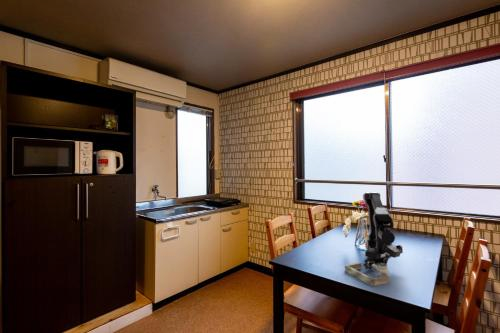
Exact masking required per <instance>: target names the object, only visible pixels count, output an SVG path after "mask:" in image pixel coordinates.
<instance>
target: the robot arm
mask: <svg viewBox="0 0 500 333" xmlns="http://www.w3.org/2000/svg"><path fill="white" fill-rule="evenodd" d="M362 199H363V201H364V205H365V206H366V207H367V212H368V223H369V234H368V235H367V238H366V242H365V249H366V250H365V252H364V253H365V254H364V255H365V257H366V258H365V260H367V257H369V259H370V258H372V260H373V261H375V263H374V264H379V263H385V264H387V263H388V262H389V259H391V258H395V259H396V258H399V257H400V255H401V254H403V253H404V252H403V246H402V245H400V244H397V245H396V244H393V243H394V242H395V240H396V236H395V234H394V233H393V232H392V231H391V229H394V226H395V224H394V220H393V218H392V216H391V214H390V212H389V211H388V210H387V209H385V208H384V204H383V202H382V199H381V193H380V192H376V191H373V192H372V191H371V192H365V193H363V196H362ZM368 262H371V260H369V261H368ZM387 265H388V264H387Z"/></svg>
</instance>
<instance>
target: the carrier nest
mask: <svg viewBox="0 0 500 333" xmlns="http://www.w3.org/2000/svg"><path fill="white" fill-rule="evenodd" d="M359 270H362V262H355V263H351V264H345V265H344V272H346V273H347V274H349V275H351V276H353V277H354V278H357V279H358V280H360V281H362V282H364V283H365V284H367V285H369V286H371V287H373V288H374V287H377V286H380V285H385V284H387V283H390V275H389V276H388V275H385V276H381V277H380V276H378V277H373V278H372V277H370V276H368V275H367V274H365V273H362V271H359Z"/></svg>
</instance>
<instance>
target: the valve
mask: <svg viewBox="0 0 500 333" xmlns="http://www.w3.org/2000/svg"><path fill="white" fill-rule="evenodd" d="M366 258H367V260H366V259H363V262H364V263H363V266H364V269H366V270H369V271H370V270H372V269H375V271H376V272H379V277H381V276H385V275H388V276H389V277H390V275H389V273H390V271H389V267H388V264H385V263H378V264H376V263H375V261H373V260H372V258H370V259H369V257H367V256H366ZM369 260H371V261H369Z"/></svg>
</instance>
